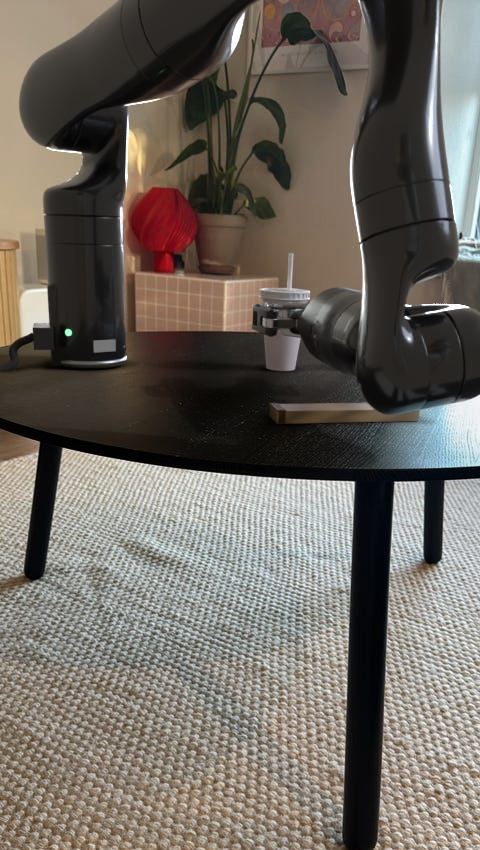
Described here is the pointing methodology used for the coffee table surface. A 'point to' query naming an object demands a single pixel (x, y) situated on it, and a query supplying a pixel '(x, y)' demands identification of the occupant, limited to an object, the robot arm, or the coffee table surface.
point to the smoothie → (279, 347)
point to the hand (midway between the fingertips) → (302, 312)
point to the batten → (333, 413)
